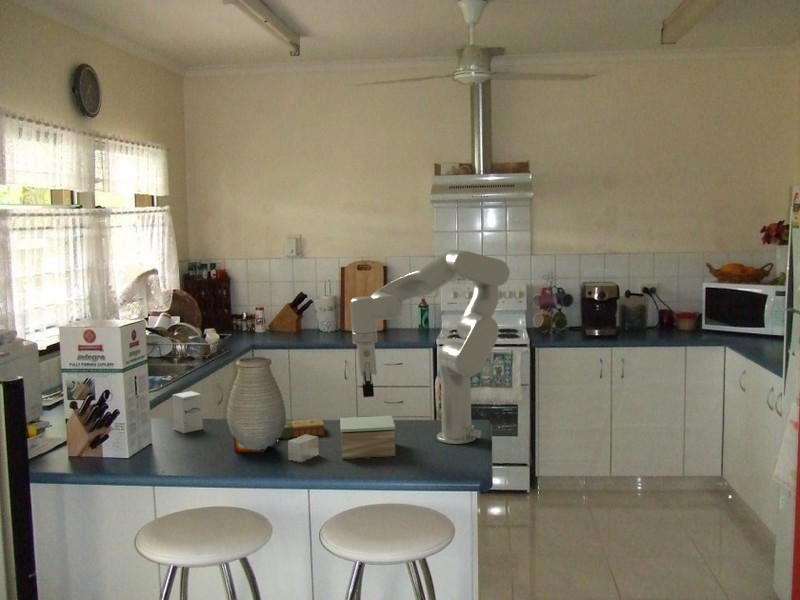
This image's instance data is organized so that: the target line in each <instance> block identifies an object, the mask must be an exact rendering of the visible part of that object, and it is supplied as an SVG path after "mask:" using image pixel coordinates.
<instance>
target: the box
mask: <svg viewBox="0 0 800 600" xmlns="http://www.w3.org/2000/svg"><path fill="white" fill-rule="evenodd" d="M395 430H396V429H395ZM395 430H376V431H355V432H341V431H340V435H341V436H340V437H341V438H340V439H341V459H346V460H356V459H355V458H365V459H371V458H370V457H385V456H395V457H396V431H395ZM385 458H386V457H385Z"/></svg>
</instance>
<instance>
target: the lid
mask: <svg viewBox="0 0 800 600" xmlns="http://www.w3.org/2000/svg"><path fill="white" fill-rule="evenodd" d="M339 420H340V421H339V422H340V423H339V426H340V433H341V432H355V431H376V430H396V425H395V422H394V418H393V416H392V415H379V416H378V415H376V416H355V417H352V416H351V417H340V418H339Z"/></svg>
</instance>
